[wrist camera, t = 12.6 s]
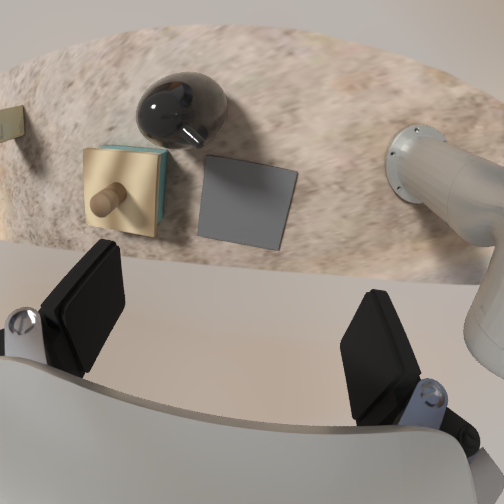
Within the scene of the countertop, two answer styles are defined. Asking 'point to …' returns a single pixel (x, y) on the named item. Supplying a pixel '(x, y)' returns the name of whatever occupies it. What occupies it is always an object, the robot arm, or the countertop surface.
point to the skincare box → (11, 123)
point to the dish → (161, 176)
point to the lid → (121, 189)
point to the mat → (244, 202)
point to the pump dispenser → (182, 111)
